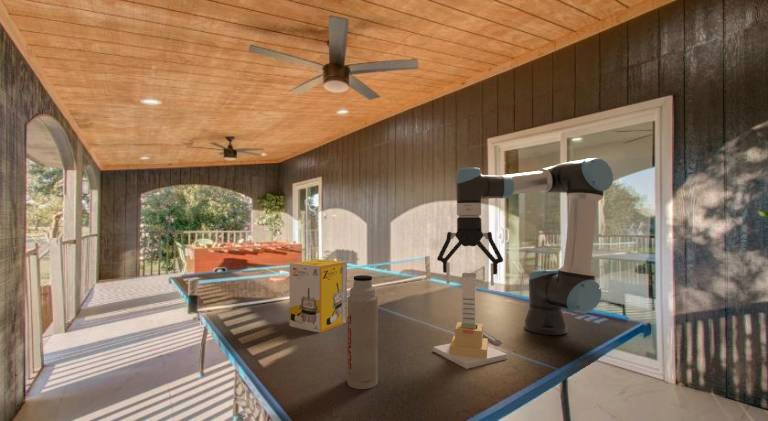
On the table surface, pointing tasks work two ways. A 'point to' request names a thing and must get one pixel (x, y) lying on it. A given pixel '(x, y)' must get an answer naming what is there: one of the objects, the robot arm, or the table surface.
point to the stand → (469, 348)
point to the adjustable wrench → (491, 338)
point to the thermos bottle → (362, 334)
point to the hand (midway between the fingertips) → (469, 283)
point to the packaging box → (318, 294)
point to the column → (469, 300)
